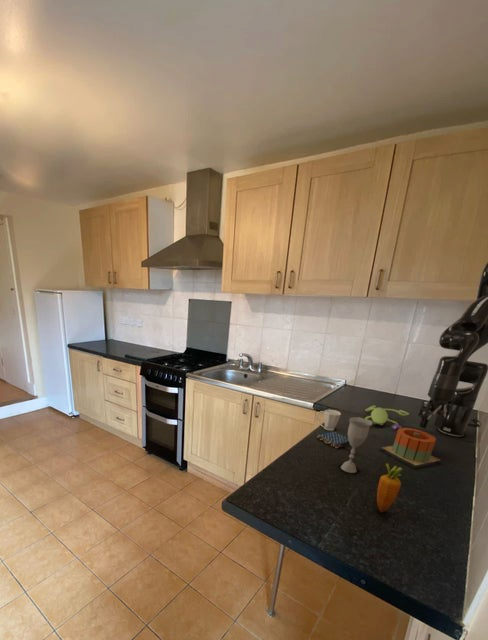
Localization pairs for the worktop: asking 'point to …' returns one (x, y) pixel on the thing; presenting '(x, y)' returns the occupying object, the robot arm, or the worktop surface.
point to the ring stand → (389, 448)
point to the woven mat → (333, 439)
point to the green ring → (411, 453)
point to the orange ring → (415, 440)
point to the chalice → (356, 439)
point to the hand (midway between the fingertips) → (430, 426)
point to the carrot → (388, 488)
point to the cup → (330, 419)
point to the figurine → (383, 416)
